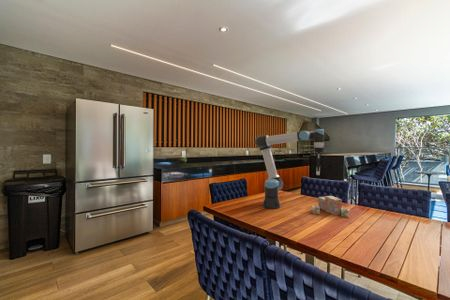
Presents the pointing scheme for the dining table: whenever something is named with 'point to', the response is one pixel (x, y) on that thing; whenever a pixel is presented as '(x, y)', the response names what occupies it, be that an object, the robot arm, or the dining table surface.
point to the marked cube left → (316, 209)
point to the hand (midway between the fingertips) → (317, 174)
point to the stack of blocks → (330, 204)
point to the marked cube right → (345, 212)
